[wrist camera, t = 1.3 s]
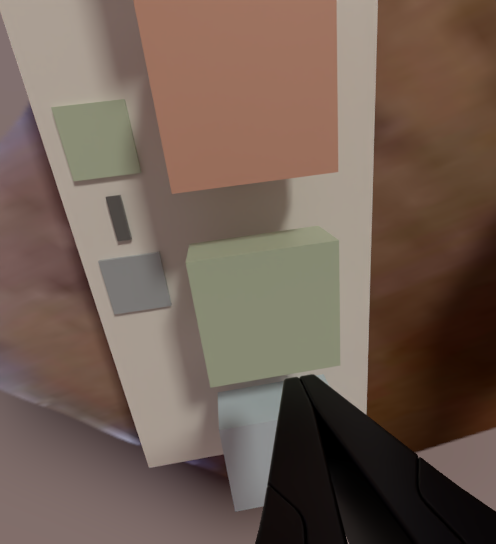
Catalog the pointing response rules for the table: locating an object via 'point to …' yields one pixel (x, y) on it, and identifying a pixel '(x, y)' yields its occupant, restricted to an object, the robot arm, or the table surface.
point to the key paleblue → (249, 439)
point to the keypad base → (182, 207)
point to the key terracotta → (242, 88)
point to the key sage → (267, 303)
